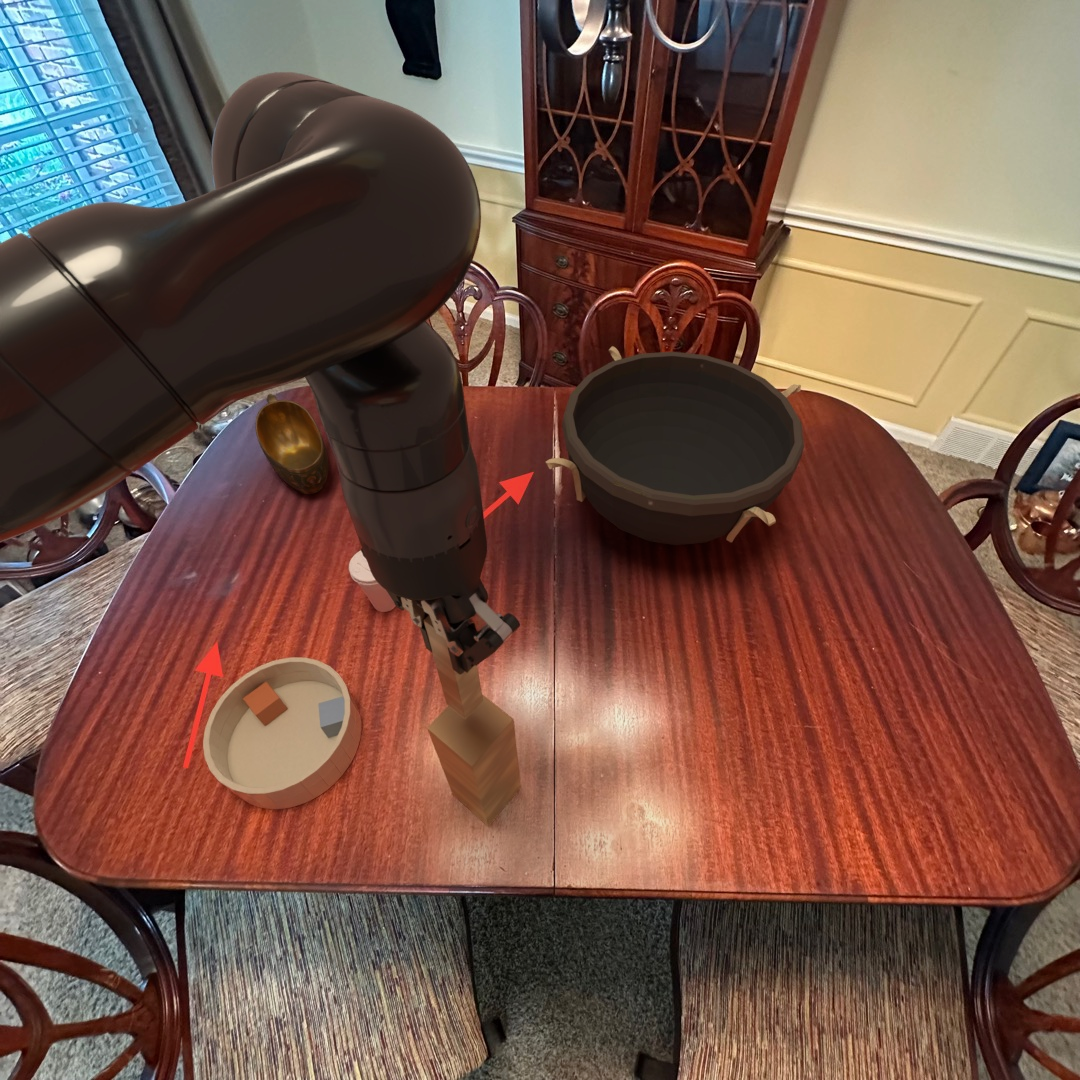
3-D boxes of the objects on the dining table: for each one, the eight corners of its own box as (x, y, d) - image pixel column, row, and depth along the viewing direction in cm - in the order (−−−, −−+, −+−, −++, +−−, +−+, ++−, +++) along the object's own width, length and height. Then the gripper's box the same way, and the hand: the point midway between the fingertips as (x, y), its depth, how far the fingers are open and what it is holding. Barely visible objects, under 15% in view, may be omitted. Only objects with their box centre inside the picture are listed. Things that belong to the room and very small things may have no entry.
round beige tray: (277, 841, 70) (258, 826, 66) (197, 749, 78) (175, 730, 73) (389, 729, 79) (379, 709, 74) (307, 656, 86) (294, 634, 82)
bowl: (780, 468, 110) (817, 375, 95) (750, 621, 89) (792, 533, 74) (596, 424, 119) (603, 333, 104) (529, 555, 98) (525, 464, 82)
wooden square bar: (465, 719, 54) (446, 637, 43) (446, 704, 55) (423, 620, 44) (483, 700, 55) (469, 615, 45) (464, 685, 56) (446, 599, 46)
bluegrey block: (328, 738, 78) (320, 727, 75) (325, 714, 80) (318, 703, 77) (354, 730, 78) (347, 719, 76) (351, 706, 81) (344, 695, 78)
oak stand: (488, 827, 71) (471, 766, 56) (452, 794, 74) (426, 727, 58) (521, 786, 74) (513, 718, 59) (485, 756, 77) (469, 683, 61)
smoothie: (399, 622, 90) (378, 564, 79) (358, 616, 90) (332, 559, 80) (411, 587, 94) (393, 528, 83) (372, 582, 95) (349, 523, 84)
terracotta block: (265, 726, 79) (255, 715, 76) (252, 709, 80) (242, 698, 78) (288, 708, 80) (279, 697, 78) (275, 692, 82) (266, 680, 79)
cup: (346, 430, 119) (332, 387, 111) (331, 503, 106) (313, 460, 98) (280, 434, 118) (261, 391, 111) (256, 507, 105) (233, 464, 98)
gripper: (291, 488, 36) (360, 638, 49) (458, 609, 30) (485, 743, 44) (386, 425, 40) (426, 581, 53) (550, 522, 34) (549, 670, 47)
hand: (452, 653), depth 48 cm, fingers closed on wooden square bar, 2 cm apart
